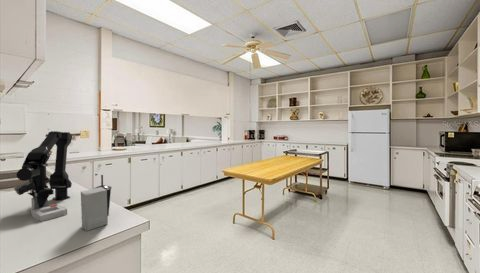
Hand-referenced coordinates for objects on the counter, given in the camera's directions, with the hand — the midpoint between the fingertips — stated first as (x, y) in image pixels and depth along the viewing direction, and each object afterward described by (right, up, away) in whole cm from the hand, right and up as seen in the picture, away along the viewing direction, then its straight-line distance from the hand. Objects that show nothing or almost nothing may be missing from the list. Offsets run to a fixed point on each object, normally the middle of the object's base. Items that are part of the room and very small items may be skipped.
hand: (39, 207), depth 109 cm
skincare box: (+38, -3, -16) cm, 41 cm away
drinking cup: (+35, -3, -5) cm, 36 cm away
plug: (0, -2, 0) cm, 2 cm away
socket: (+9, -2, -4) cm, 10 cm away
